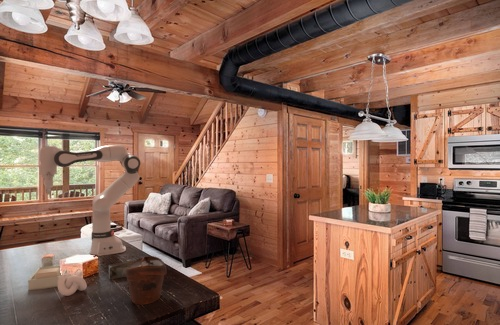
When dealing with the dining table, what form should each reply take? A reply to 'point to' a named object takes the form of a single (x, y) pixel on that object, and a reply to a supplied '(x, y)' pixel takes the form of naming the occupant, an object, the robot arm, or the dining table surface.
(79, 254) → the dining table surface
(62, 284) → the pretzel
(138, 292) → the brown bucket
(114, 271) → the beverage carton
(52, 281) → the tote
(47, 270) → the beige rectangular block
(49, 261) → the copper capped metal stub
